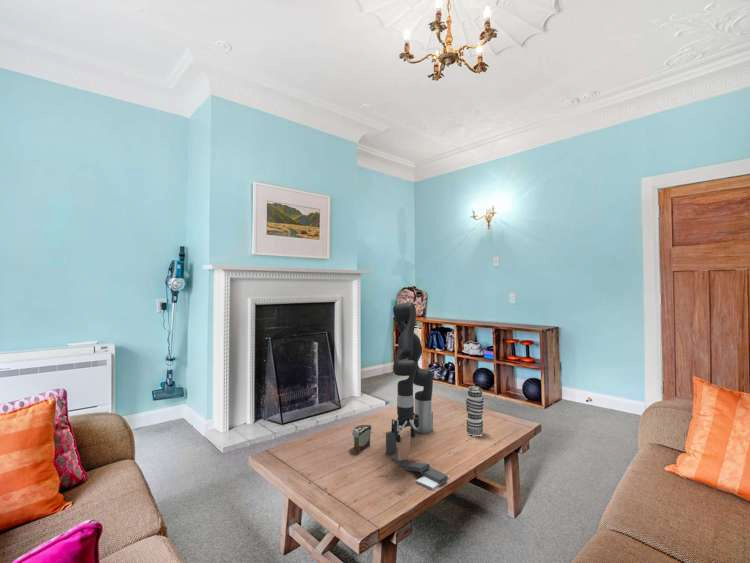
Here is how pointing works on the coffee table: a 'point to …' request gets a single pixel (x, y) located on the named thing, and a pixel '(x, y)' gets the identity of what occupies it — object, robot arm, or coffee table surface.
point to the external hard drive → (428, 483)
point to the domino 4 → (417, 467)
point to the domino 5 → (435, 475)
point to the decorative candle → (474, 411)
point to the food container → (361, 437)
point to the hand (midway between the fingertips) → (405, 439)
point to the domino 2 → (404, 448)
